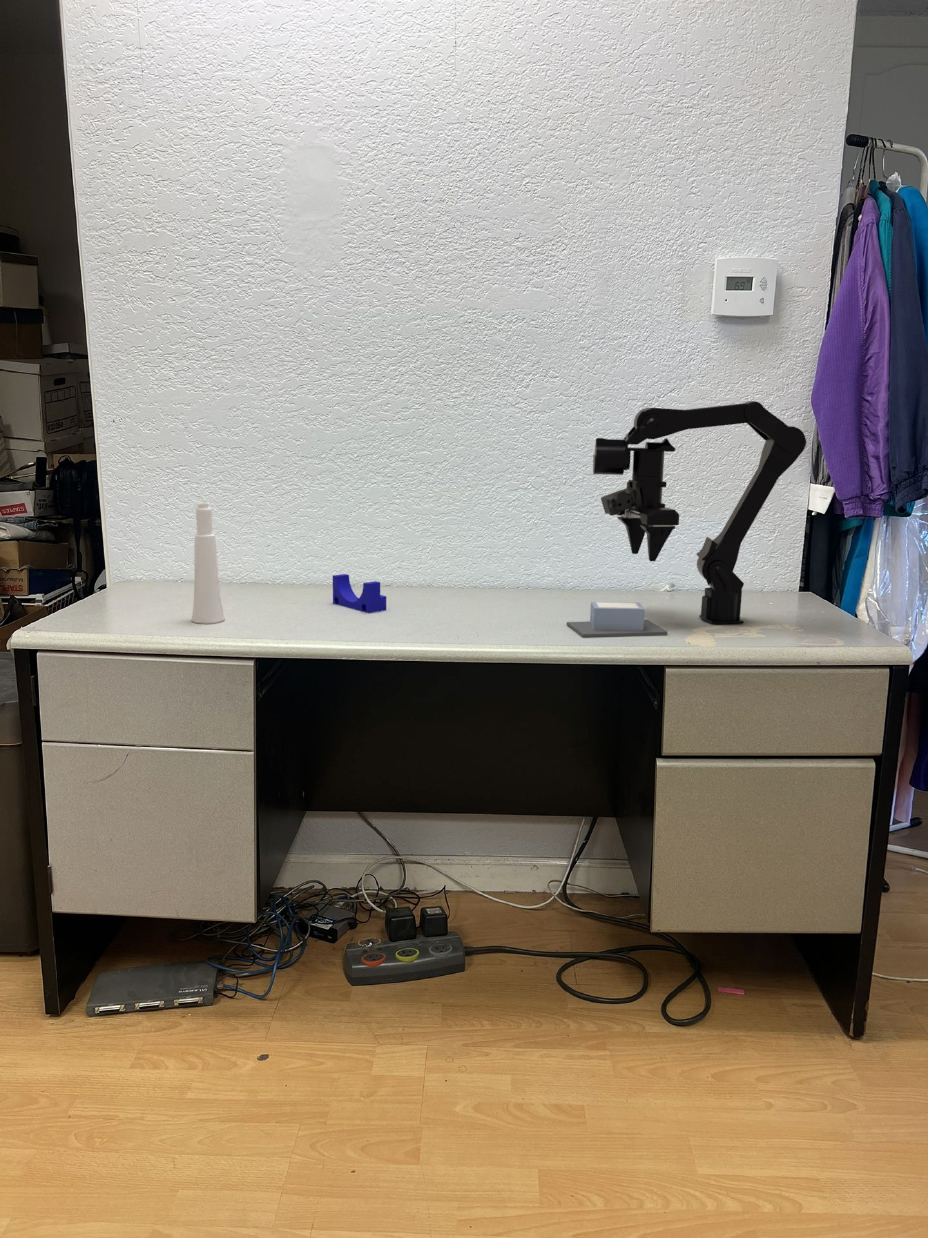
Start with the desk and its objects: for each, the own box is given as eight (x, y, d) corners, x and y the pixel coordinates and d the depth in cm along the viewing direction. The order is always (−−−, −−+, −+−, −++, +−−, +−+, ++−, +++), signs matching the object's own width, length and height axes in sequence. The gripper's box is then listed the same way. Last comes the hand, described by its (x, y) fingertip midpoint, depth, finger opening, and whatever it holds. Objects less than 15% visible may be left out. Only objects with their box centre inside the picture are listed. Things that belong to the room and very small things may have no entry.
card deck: (590, 622, 187) (590, 601, 186) (638, 623, 187) (639, 602, 186) (593, 629, 181) (594, 607, 180) (643, 630, 181) (644, 608, 180)
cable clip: (386, 611, 198) (386, 581, 197) (368, 614, 195) (367, 584, 194) (350, 601, 207) (350, 573, 205) (332, 604, 204) (332, 575, 203)
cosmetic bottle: (191, 624, 183) (186, 504, 178) (191, 617, 188) (186, 501, 184) (225, 623, 184) (221, 504, 180) (224, 616, 190) (219, 500, 185)
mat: (647, 622, 190) (647, 619, 190) (667, 634, 180) (667, 631, 180) (566, 625, 187) (566, 622, 187) (582, 637, 177) (582, 634, 177)
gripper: (591, 471, 195) (588, 550, 199) (623, 479, 177) (619, 566, 181) (645, 471, 197) (641, 550, 201) (682, 479, 179) (677, 565, 183)
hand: (643, 557), depth 191 cm, fingers open, 9 cm apart
